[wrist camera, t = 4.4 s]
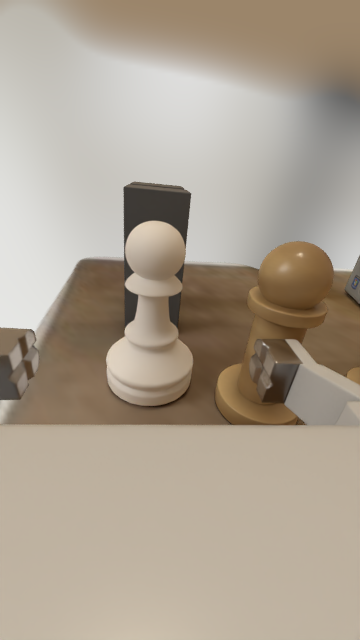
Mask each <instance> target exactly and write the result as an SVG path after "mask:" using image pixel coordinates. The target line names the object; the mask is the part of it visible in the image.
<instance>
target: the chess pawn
mask: <svg viewBox="0 0 360 640" xmlns="http://www.w3.org/2000/svg"><path fill="white" fill-rule="evenodd" d="M185 251H186V250H185V244H184V241H183V238H182V236H181V234H180V233H179V232H178V230H177V229H175V228H174V227H173V226H171V225H170V224H168V223H165V222H161V221H147V222H144V223H142V224H139V225H138V226H136V227H135V228H134V229H133V230H132V231H131V233H130V234H129V236H128V239H127V241H126V246H125V255H126V259H127V262H128V264H129V266H130V267H131V269H132V270H133V271H134V272H135V273H133V274H132V275H131V276H130V277H129V278H128V279H127V280H126V282H125V286H126V288H127V289H128V290H129V291H130V292H132V293H134V294H137V295H138V304H137V311H136V315H135V319H134V321H132V322H130V323H129V324H128V325H127V326H126V328H125V332H124V333H125V337H123V338H122V339H120V340H119V341H117V342H116V343H115V344H113V346H112V347H111V348H110V350H109V351H108V354H107V358H106V363H107V379H108V385H109V386H110V388H111V390H112V391H113V392H114V393H115V394H116V395H117V396H118V397H119V398H121V399H123V400H125V401H127V402H129V403H131V404H136V405H141V406H157V405H162V404H167V403H169V402H171V401H174V400H176V399H177V398H179V397H180V396H181V395H182V394H184V393H185V391H186V390H187V388H188V387H189V384H190V380H191V374H192V366H193V357H192V353H191V352H190V350H189V348H188V347H187V346H186V345H185V344H184V343H183V342H181V341H180V340H179V339H178V338H177V337H178V335H179V334H178V329H177V328H176V326H175V325H174V324H173V323H171V322H170V318H169V303H168V300H169V296H173V295H176V294H178V293H179V292H181V290H182V288H183V287H182V283H181V282H180V280H179V279H178V278H177V277H176V276H175V274H176V273H177V272H178V271H179V270H180V268H181V267H182V265H183V263H184V260H185V254H186V252H185Z"/></svg>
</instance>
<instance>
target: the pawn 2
mask: <svg viewBox="0 0 360 640" xmlns="http://www.w3.org/2000/svg"><path fill="white" fill-rule="evenodd" d="M346 378H348V379H350V380H352V381H354V382H355V383H357V384H359V385H360V367H355V368H352V369H351V370H349V371H348V373H347V375H346Z"/></svg>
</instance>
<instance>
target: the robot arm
mask: <svg viewBox="0 0 360 640" xmlns="http://www.w3.org/2000/svg"><path fill="white" fill-rule="evenodd" d="M35 341H36V337H35V333H34V331H33V330H31V329H15V328H0V400H20V399H21V398H22V396H23V394H24V393H25V391H26V389H27V388H28V386H29V383H28V380H29V379H31V378H32V377H34V376H35V374H36V372H37V371H38V367H39V351H38V350H37V349H36V348H35V347H34V346H33V344H34V343H35ZM253 348H254V350H255V352H256V353H255V354H254V355H253V356H252V357H251V358H250V363H249V373H250V377H251V380H252V381H253V382H254V383H256V384H257V387H256V391H257V393H258V395H259V397H260V399H261V402H262V403H284V405H285V406H286V407H287V408H289V409H290V410H291V411H292V412H293V413H294V414H295V415H296V416H298V417H299V418H300V419H301V420H302V421H303V422H304V423H306V424H307V425H44V424H0V640H360V385H359V384H357V383H355V382H354V381H352V380H350V379H348V378H346V377H344V376H342V375H340V374H338V373H337V372H335V371H333V370H331V369H329V368H327V367H325V366H323V365H318V364H317V363H316V362H315V361H314V359H313V358H312V357H311V356H310V355H309V353H308V352H307V351H306V350H305V349H304V347H303V346H302V345H301V344H300V343H299V341H298V340H295V339H257V340H256V341H255V344H254V347H253Z"/></svg>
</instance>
